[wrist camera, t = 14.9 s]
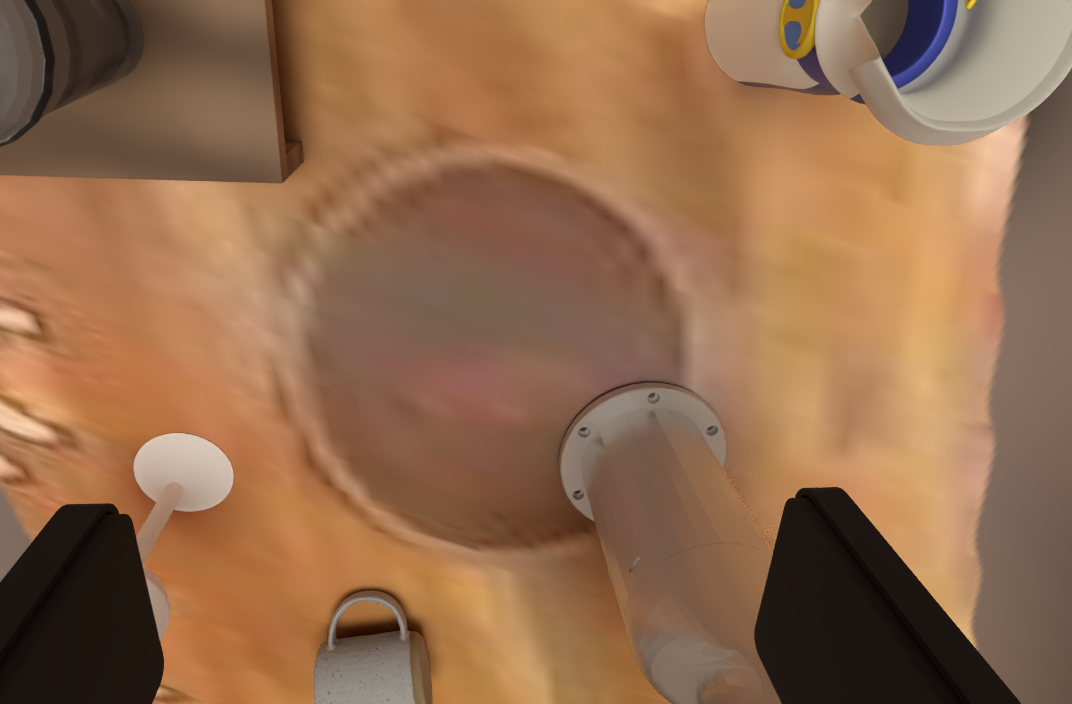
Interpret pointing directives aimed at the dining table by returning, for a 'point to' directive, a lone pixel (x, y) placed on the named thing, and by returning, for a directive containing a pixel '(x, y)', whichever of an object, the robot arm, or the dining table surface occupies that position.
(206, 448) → the champagne flute
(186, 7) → the walnut shelf
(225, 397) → the dining table surface
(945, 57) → the water bottle
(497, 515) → the dining table surface
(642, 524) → the robot arm
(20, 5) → the beverage cup
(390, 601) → the ceramic mug
